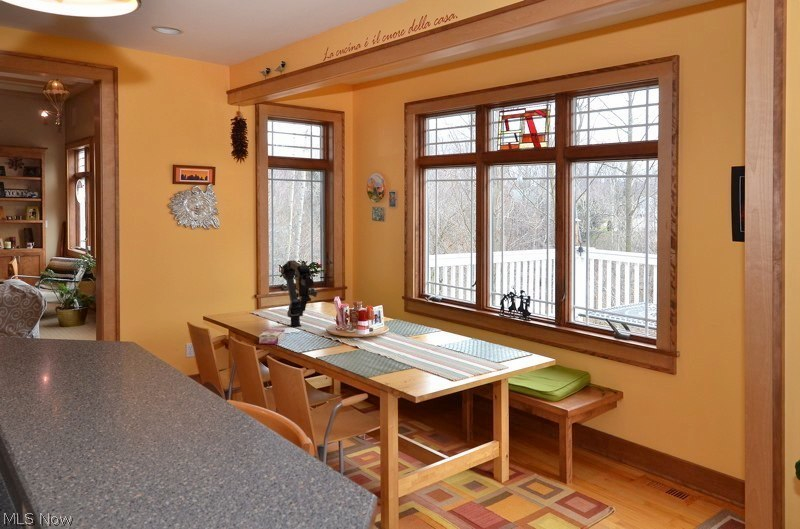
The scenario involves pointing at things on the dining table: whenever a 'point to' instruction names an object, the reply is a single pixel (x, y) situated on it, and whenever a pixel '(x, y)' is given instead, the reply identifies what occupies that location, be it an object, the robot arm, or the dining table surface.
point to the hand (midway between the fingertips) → (303, 310)
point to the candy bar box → (271, 336)
